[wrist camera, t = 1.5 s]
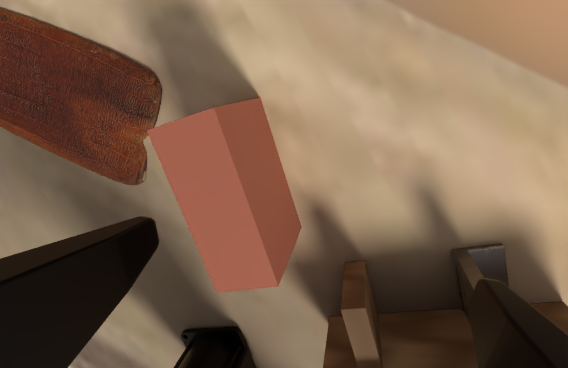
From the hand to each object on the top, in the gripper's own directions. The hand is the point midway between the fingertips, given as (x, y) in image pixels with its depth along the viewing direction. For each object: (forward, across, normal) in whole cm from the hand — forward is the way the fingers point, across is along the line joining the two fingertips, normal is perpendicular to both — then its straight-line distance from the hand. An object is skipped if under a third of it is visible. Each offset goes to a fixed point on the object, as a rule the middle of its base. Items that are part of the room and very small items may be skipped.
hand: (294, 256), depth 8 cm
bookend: (+13, -10, +9) cm, 19 cm away
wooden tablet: (+13, +27, -3) cm, 30 cm away
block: (+13, +6, +3) cm, 14 cm away
